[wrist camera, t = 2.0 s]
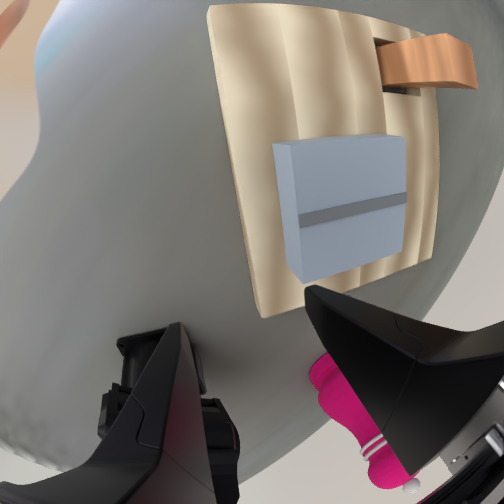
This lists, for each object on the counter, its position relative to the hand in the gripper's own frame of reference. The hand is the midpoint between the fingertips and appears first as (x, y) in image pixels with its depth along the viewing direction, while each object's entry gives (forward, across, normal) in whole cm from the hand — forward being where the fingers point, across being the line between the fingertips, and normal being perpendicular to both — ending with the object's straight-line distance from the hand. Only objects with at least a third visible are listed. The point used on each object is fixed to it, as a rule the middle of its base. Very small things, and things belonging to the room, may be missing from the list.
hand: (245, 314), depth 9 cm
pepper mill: (+12, -10, +22) cm, 27 cm away
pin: (+12, -17, -10) cm, 24 cm away
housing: (+10, -10, 0) cm, 14 cm away
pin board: (+12, -12, -3) cm, 18 cm away
